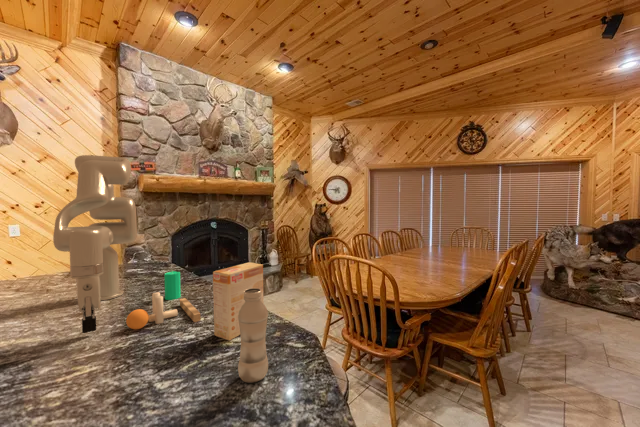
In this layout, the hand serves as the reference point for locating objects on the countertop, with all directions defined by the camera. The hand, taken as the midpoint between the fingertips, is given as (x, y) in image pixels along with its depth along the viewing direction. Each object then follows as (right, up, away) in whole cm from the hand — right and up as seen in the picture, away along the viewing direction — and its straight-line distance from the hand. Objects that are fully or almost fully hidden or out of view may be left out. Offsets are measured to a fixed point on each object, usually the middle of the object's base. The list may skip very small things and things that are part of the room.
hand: (89, 330), depth 84 cm
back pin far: (+12, -1, +13) cm, 18 cm away
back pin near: (+16, -1, +9) cm, 18 cm away
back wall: (+22, -1, +18) cm, 28 cm away
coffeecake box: (+44, -1, +5) cm, 44 cm away
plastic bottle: (+54, -2, -21) cm, 58 cm away
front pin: (+12, 0, +10) cm, 15 cm away
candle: (+7, 0, +34) cm, 35 cm away
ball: (+11, +2, +5) cm, 12 cm away
